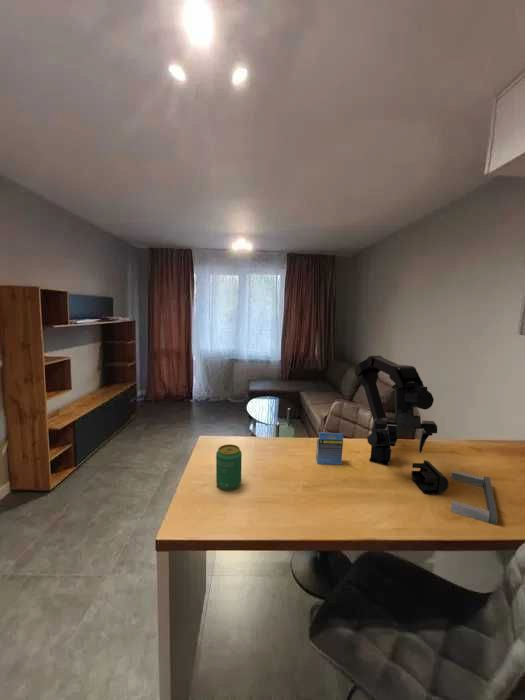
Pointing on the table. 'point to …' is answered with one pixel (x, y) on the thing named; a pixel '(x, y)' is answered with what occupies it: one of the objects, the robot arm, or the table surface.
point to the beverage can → (228, 467)
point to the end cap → (429, 479)
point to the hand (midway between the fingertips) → (404, 450)
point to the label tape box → (329, 448)
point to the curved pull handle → (472, 511)
